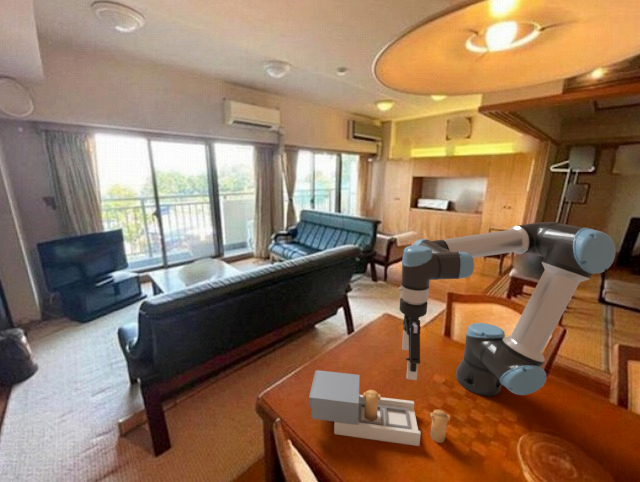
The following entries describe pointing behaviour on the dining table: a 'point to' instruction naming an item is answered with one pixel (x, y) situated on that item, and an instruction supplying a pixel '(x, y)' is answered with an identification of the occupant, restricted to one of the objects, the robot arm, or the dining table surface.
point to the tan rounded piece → (371, 404)
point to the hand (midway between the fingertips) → (408, 363)
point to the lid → (335, 397)
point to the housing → (385, 423)
